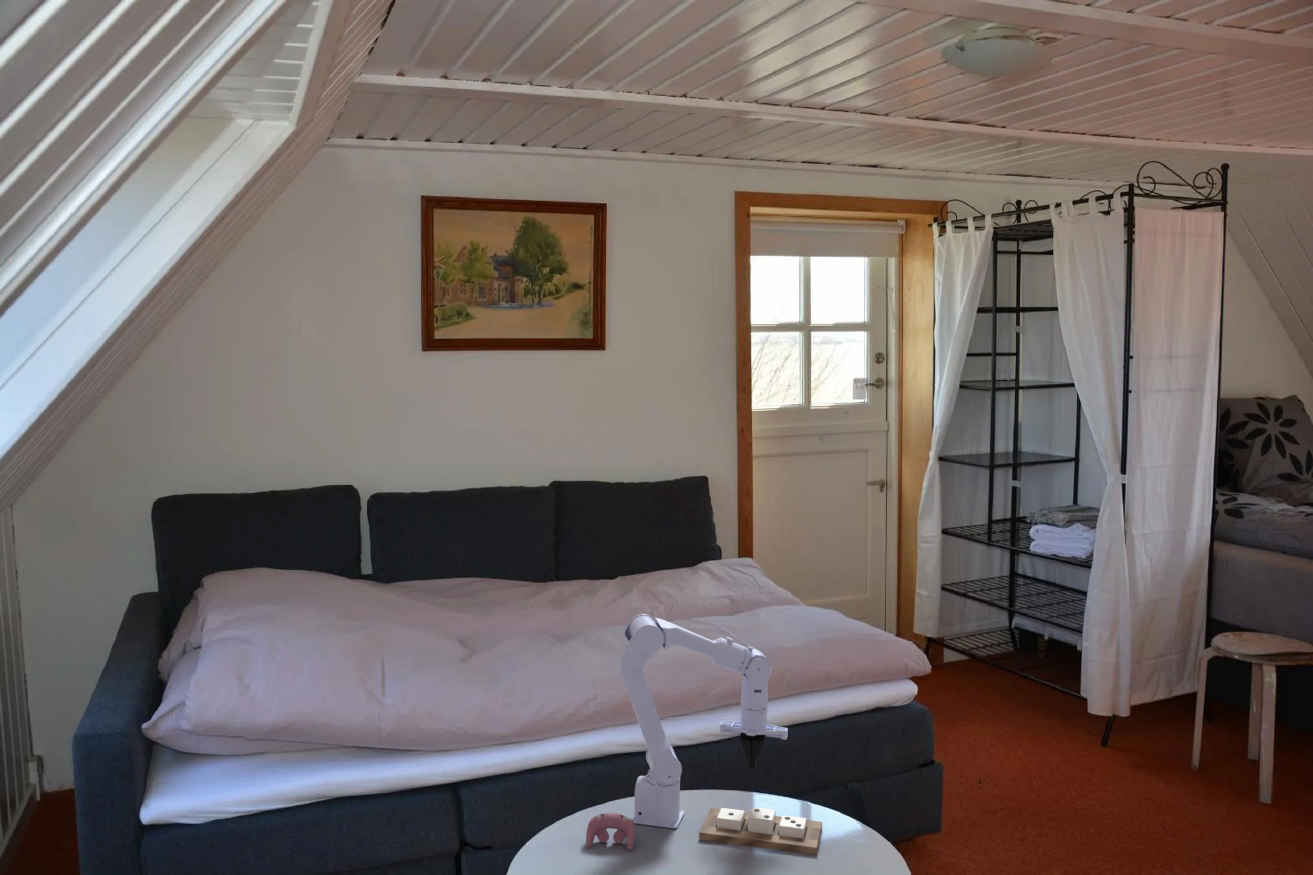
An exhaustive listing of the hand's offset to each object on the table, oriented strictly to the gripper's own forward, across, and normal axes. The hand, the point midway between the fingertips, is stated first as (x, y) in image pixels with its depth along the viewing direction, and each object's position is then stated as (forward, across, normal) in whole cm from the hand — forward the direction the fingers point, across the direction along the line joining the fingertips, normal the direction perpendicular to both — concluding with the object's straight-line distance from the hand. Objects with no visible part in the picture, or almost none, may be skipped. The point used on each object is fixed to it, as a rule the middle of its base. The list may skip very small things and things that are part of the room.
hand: (752, 767), depth 230 cm
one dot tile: (+10, -3, -9) cm, 14 cm away
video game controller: (+11, -26, -22) cm, 35 cm away
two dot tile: (+9, +4, -9) cm, 13 cm away
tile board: (+10, +4, -9) cm, 14 cm away
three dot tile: (+10, +10, -9) cm, 17 cm away
